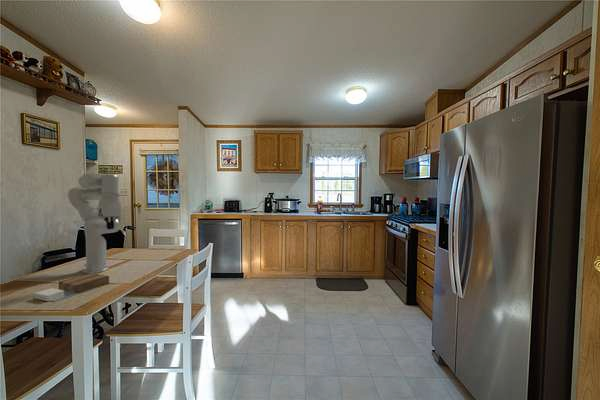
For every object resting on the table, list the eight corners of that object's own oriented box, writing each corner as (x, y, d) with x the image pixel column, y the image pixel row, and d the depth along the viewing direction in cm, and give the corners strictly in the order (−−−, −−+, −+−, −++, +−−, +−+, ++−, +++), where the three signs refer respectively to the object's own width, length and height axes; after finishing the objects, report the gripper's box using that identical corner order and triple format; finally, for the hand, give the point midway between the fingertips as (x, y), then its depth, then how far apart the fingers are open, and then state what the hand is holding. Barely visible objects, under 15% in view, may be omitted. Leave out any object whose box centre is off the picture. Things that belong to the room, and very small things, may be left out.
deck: (58, 289, 120) (58, 281, 120) (91, 280, 134) (90, 272, 134) (77, 293, 116) (77, 285, 116) (109, 283, 129) (108, 276, 129)
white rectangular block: (51, 288, 116) (51, 293, 116) (34, 293, 110) (34, 298, 110) (64, 290, 113) (64, 295, 113) (47, 295, 107) (47, 301, 107)
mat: (33, 296, 112) (33, 296, 112) (58, 289, 121) (58, 288, 121) (53, 301, 107) (53, 301, 107) (78, 294, 116) (78, 293, 116)
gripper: (118, 196, 147) (119, 226, 147) (90, 196, 132) (90, 230, 133) (128, 196, 144) (128, 227, 145) (100, 196, 130) (100, 231, 130)
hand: (110, 228), depth 139 cm, fingers closed
